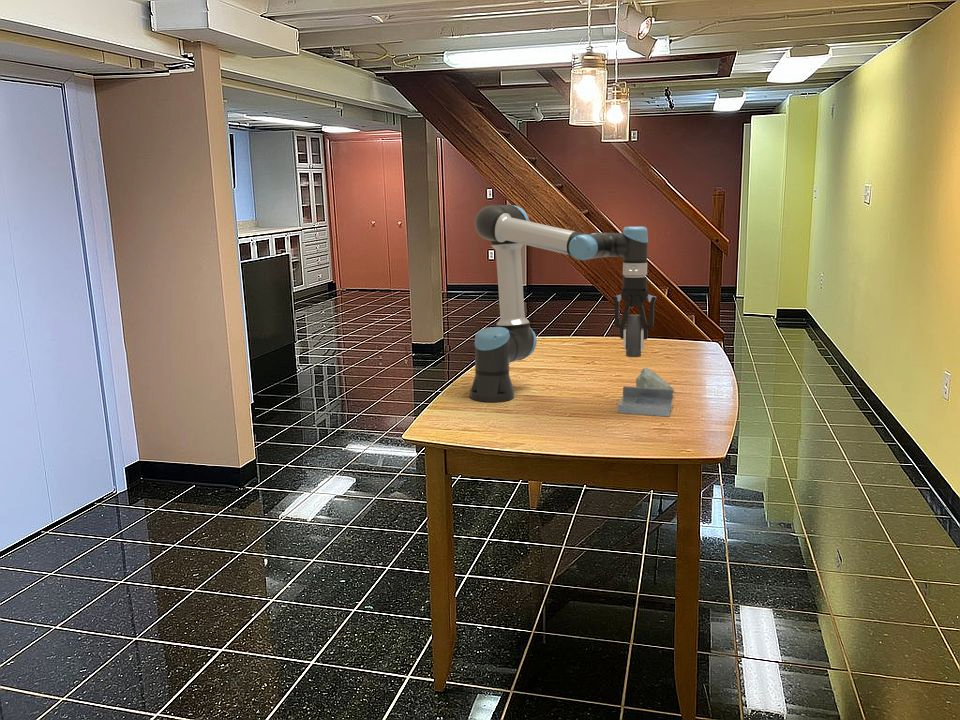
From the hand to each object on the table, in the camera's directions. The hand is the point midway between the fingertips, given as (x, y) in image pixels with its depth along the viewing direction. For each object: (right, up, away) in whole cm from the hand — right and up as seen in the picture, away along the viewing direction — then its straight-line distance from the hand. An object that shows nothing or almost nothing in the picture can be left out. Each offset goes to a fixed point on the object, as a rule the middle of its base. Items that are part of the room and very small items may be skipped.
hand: (633, 349), depth 259 cm
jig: (+4, -19, +3) cm, 20 cm away
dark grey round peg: (0, -2, 0) cm, 2 cm away
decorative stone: (+11, -16, +21) cm, 29 cm away
